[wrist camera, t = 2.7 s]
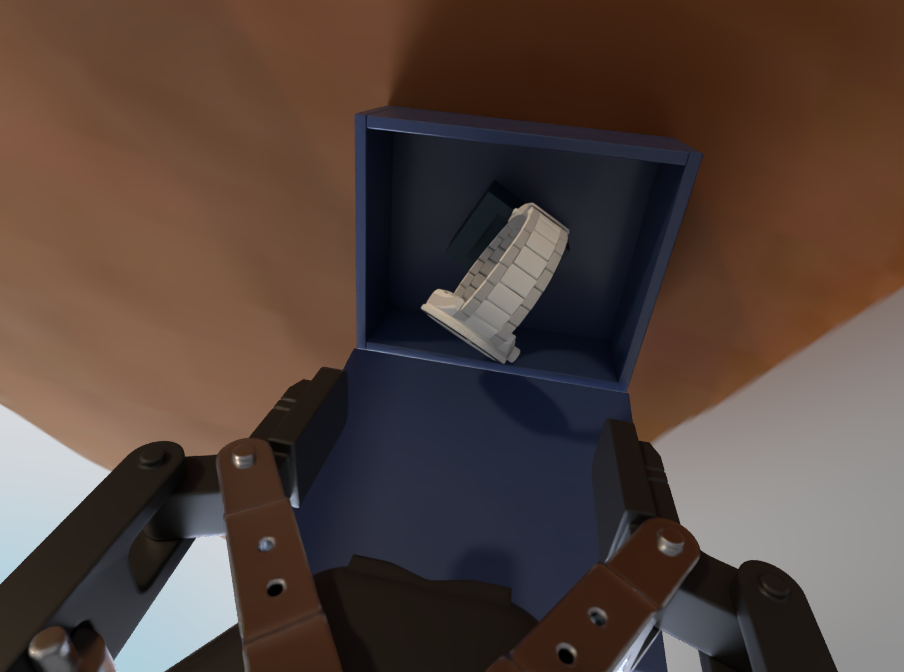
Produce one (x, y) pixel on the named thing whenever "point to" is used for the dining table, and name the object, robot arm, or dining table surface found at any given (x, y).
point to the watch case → (533, 181)
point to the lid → (464, 479)
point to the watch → (499, 271)
